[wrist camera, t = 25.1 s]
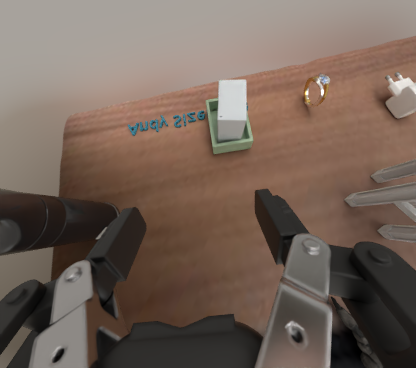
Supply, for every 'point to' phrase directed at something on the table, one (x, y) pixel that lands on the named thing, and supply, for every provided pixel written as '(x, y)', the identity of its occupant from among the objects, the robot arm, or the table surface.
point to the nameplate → (166, 123)
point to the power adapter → (401, 96)
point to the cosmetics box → (231, 110)
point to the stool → (392, 199)
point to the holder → (221, 147)
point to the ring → (323, 86)
